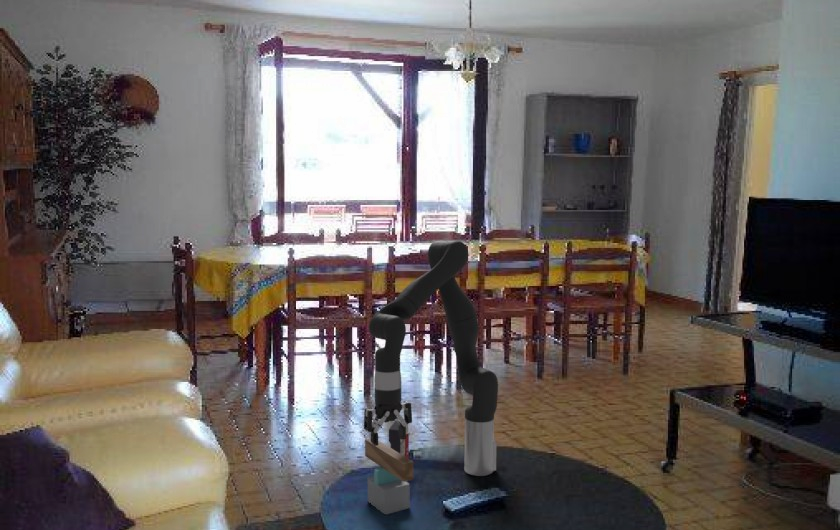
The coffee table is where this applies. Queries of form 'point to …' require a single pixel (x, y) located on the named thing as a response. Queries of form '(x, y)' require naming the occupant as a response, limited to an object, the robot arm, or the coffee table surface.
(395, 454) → the walnut beam
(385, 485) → the balance stand
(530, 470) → the coffee table surface
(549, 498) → the coffee table surface
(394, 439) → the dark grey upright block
